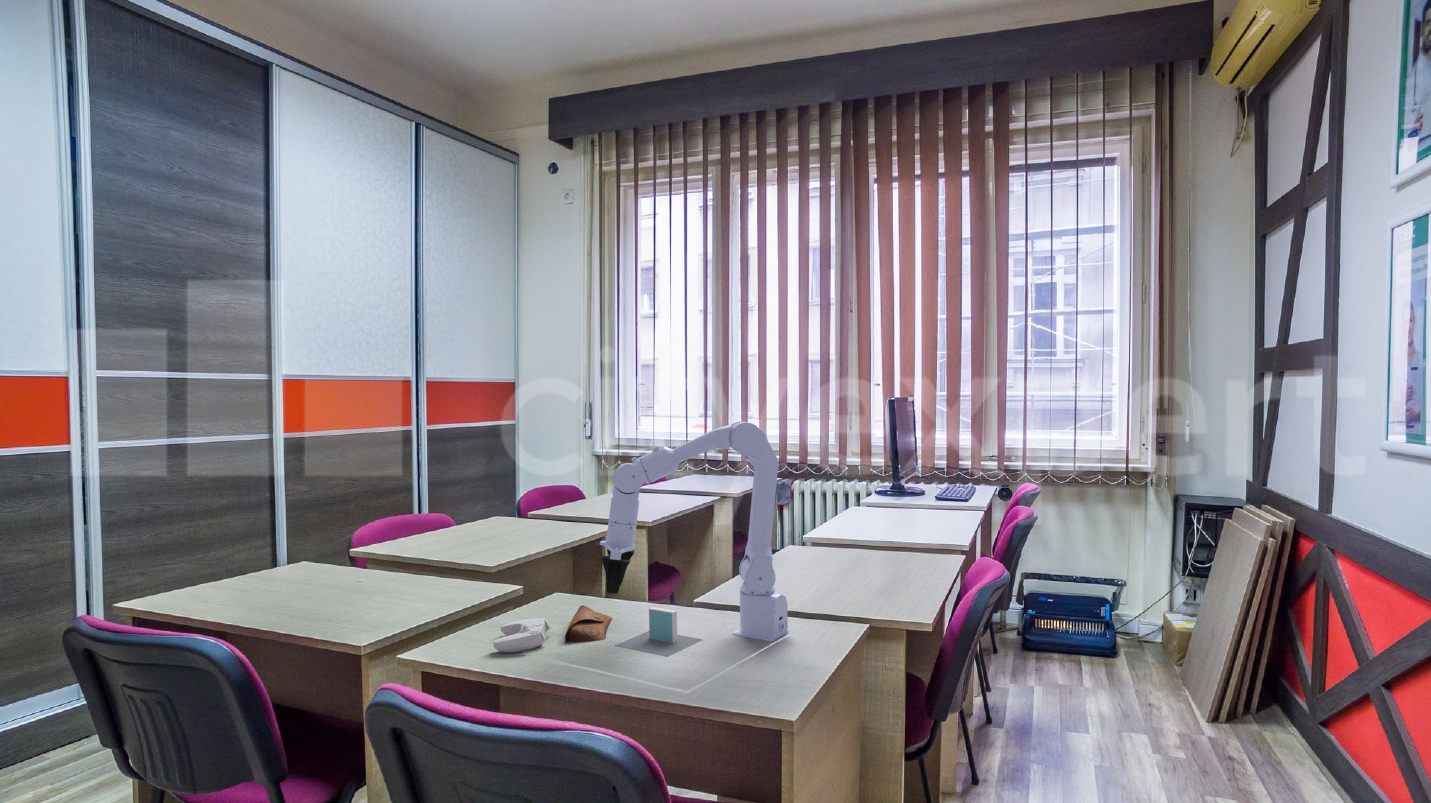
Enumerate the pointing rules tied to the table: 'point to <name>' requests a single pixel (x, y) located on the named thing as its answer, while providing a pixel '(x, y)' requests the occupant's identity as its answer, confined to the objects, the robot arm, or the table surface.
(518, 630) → the game controller
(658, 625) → the tile
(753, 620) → the robot arm
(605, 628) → the sunglasses case
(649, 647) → the mat
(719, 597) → the table surface
